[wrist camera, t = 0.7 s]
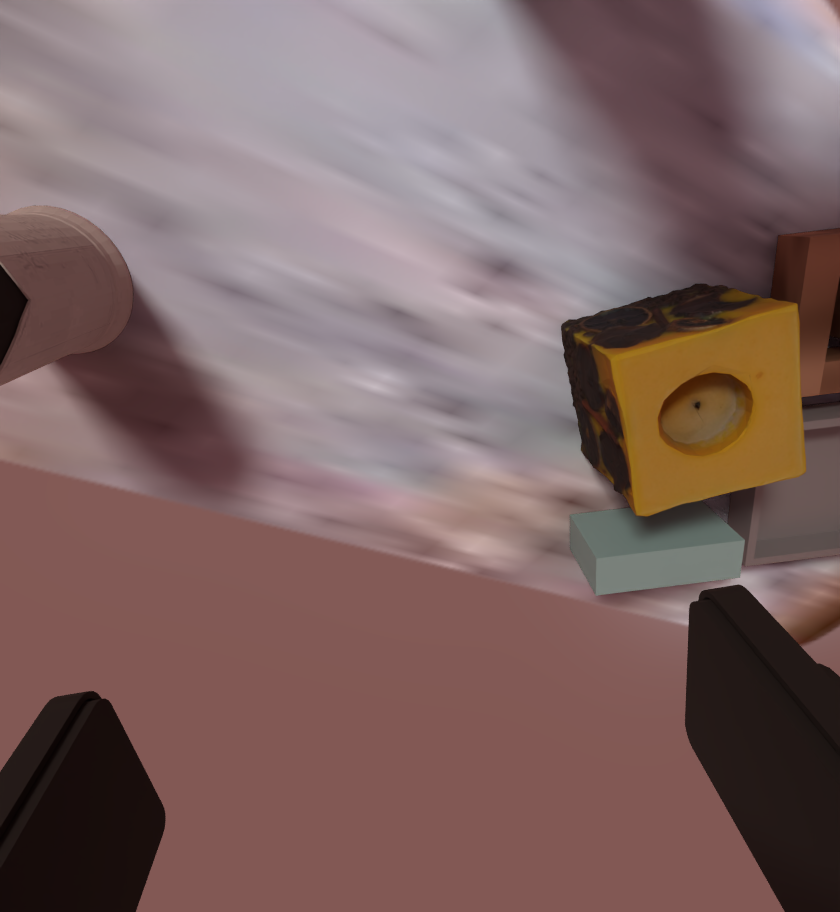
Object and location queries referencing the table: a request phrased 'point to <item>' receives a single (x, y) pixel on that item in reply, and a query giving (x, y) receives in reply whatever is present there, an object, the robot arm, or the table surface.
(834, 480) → the tray
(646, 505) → the candle
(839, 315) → the dowel
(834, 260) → the socket block
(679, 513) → the block
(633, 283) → the table surface
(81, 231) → the glass holder
